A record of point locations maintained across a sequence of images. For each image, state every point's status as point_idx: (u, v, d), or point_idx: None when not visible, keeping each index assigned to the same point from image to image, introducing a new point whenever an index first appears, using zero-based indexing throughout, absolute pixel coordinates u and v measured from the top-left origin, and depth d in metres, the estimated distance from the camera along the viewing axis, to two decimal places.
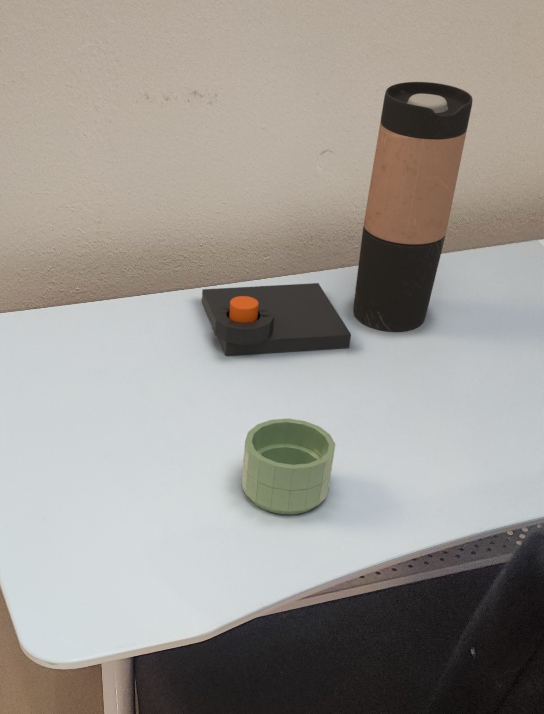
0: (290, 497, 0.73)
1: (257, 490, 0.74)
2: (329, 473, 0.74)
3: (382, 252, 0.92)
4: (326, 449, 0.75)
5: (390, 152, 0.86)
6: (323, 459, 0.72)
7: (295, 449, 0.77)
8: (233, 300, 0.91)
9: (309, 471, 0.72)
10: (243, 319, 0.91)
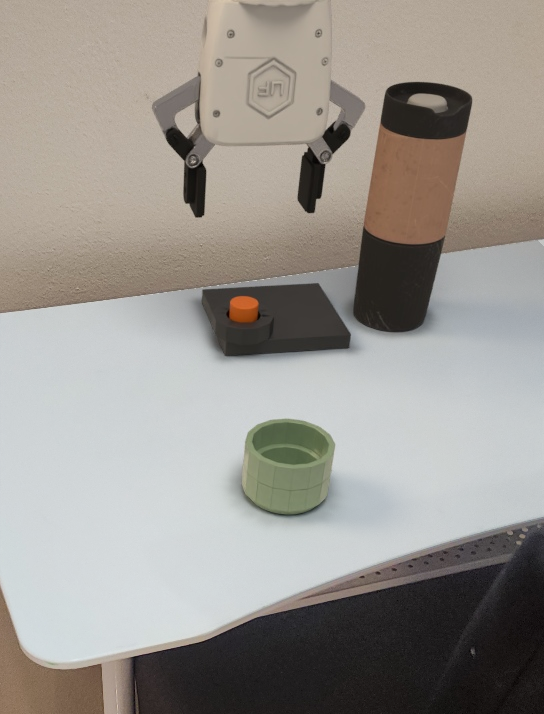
0: (290, 497, 0.73)
1: (257, 490, 0.74)
2: (329, 473, 0.74)
3: (382, 252, 0.92)
4: (326, 449, 0.75)
5: (390, 152, 0.86)
6: (323, 459, 0.72)
7: (295, 449, 0.77)
8: (233, 300, 0.91)
9: (309, 471, 0.72)
10: (243, 319, 0.91)
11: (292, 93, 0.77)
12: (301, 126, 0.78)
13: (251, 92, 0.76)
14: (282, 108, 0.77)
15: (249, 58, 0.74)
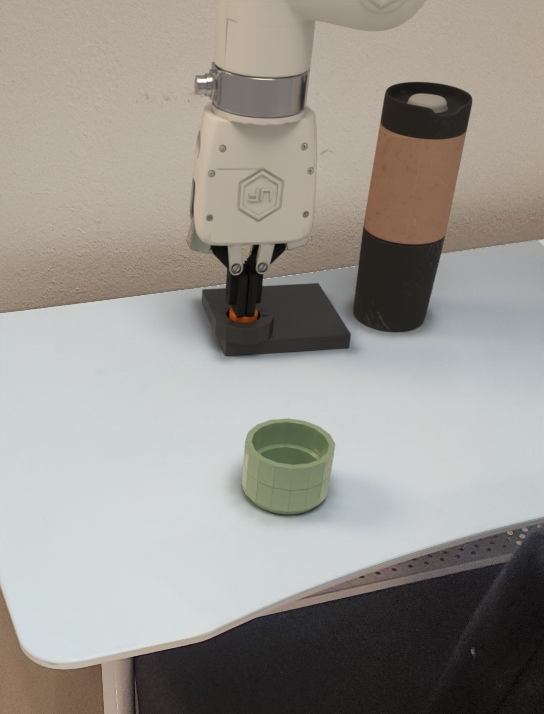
0: (290, 497, 0.73)
1: (257, 490, 0.74)
2: (329, 473, 0.74)
3: (382, 252, 0.92)
4: (326, 449, 0.75)
5: (390, 152, 0.86)
6: (323, 459, 0.72)
7: (295, 449, 0.77)
8: None
9: (309, 471, 0.72)
10: None
11: (280, 199, 0.82)
12: (289, 227, 0.84)
13: (242, 199, 0.82)
14: (271, 212, 0.83)
15: (240, 169, 0.80)
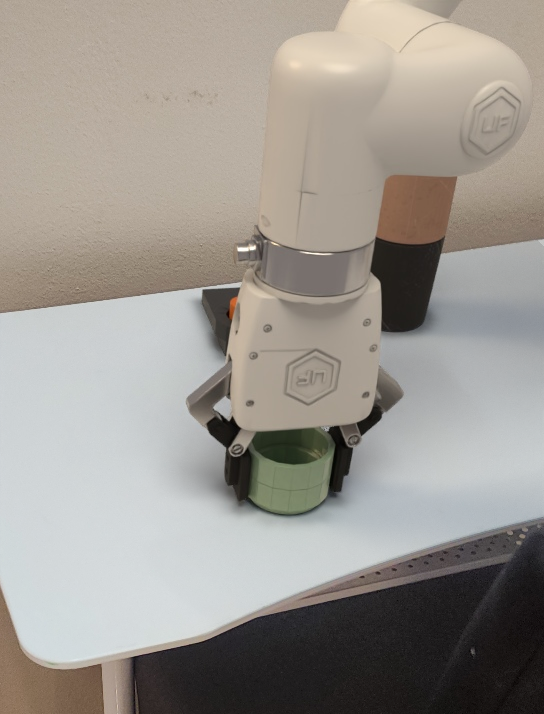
0: (290, 497, 0.73)
1: (257, 490, 0.74)
2: (329, 473, 0.74)
3: (382, 252, 0.92)
4: (326, 449, 0.75)
5: None
6: (323, 459, 0.72)
7: (295, 449, 0.77)
8: (233, 300, 0.91)
9: (309, 471, 0.72)
10: None
11: (335, 380, 0.68)
12: (345, 410, 0.69)
13: (289, 382, 0.67)
14: (324, 395, 0.68)
15: (288, 351, 0.65)
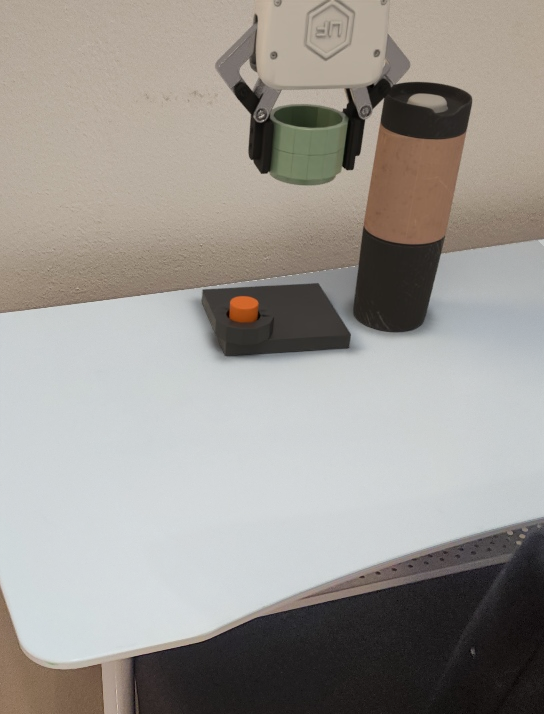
0: (308, 163, 0.81)
1: (278, 161, 0.82)
2: (343, 144, 0.82)
3: (382, 252, 0.92)
4: None
5: (390, 152, 0.86)
6: (338, 125, 0.81)
7: None
8: (233, 300, 0.91)
9: (325, 134, 0.80)
10: (243, 319, 0.91)
11: (350, 34, 0.76)
12: (358, 68, 0.78)
13: (309, 33, 0.75)
14: (340, 49, 0.76)
15: None
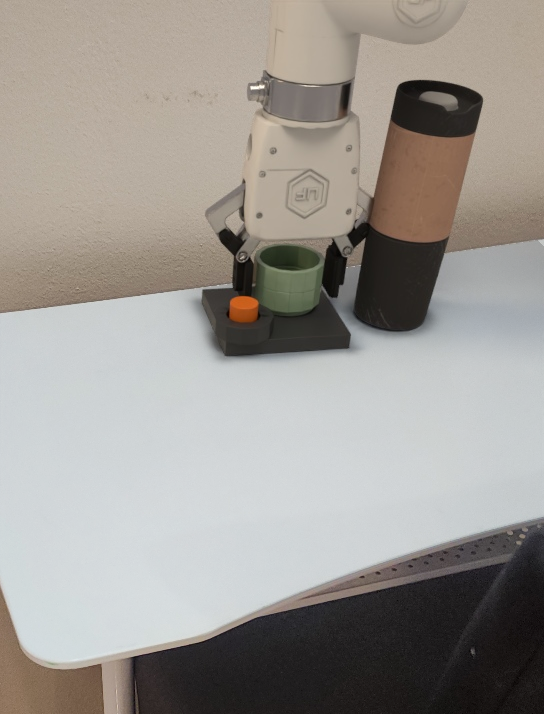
0: (289, 299, 0.93)
1: (263, 296, 0.94)
2: (320, 282, 0.94)
3: (387, 249, 0.91)
4: (318, 264, 0.95)
5: (399, 148, 0.86)
6: (315, 267, 0.93)
7: (293, 269, 0.97)
8: (233, 300, 0.91)
9: (304, 276, 0.92)
10: (243, 319, 0.91)
11: (325, 197, 0.88)
12: (332, 224, 0.90)
13: (290, 197, 0.87)
14: (316, 210, 0.88)
15: (288, 170, 0.86)
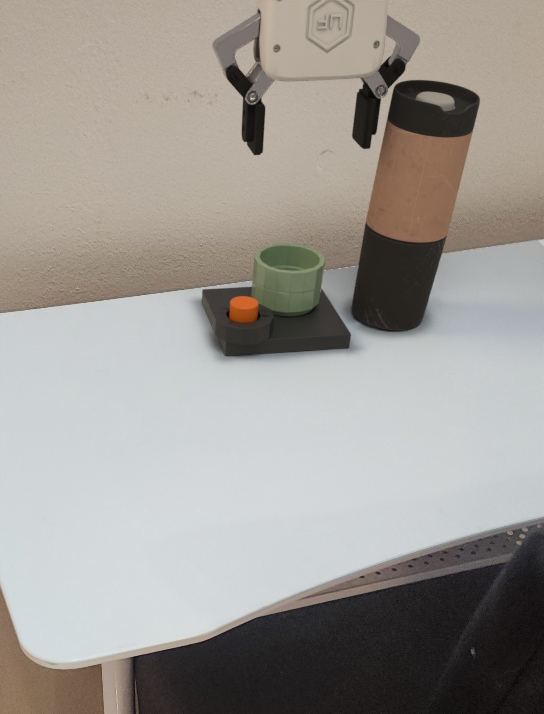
0: (289, 299, 0.93)
1: (263, 296, 0.94)
2: (320, 282, 0.94)
3: (384, 249, 0.91)
4: (318, 264, 0.95)
5: (396, 148, 0.86)
6: (315, 267, 0.93)
7: (293, 269, 0.97)
8: (233, 300, 0.91)
9: (304, 276, 0.92)
10: (243, 319, 0.91)
11: (350, 26, 0.79)
12: (358, 59, 0.80)
13: (310, 26, 0.78)
14: (340, 41, 0.79)
15: None
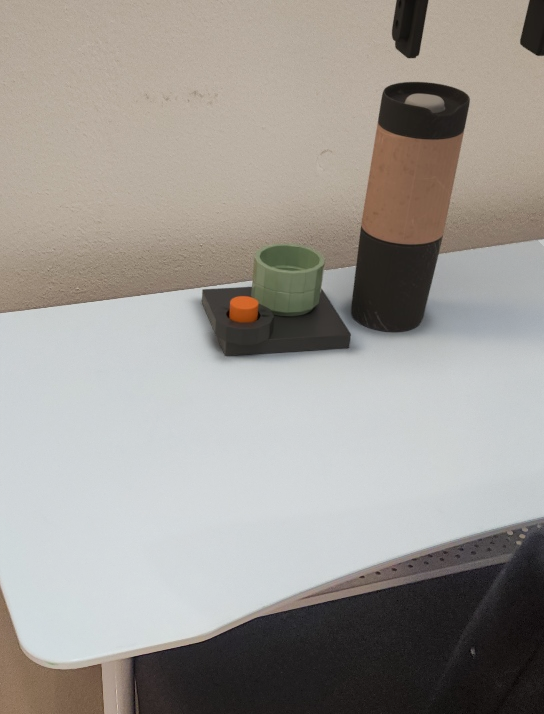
0: (289, 299, 0.93)
1: (263, 296, 0.94)
2: (320, 282, 0.94)
3: (380, 253, 0.92)
4: (318, 264, 0.95)
5: (387, 152, 0.86)
6: (315, 267, 0.93)
7: (293, 269, 0.97)
8: (233, 300, 0.91)
9: (304, 276, 0.92)
10: (243, 319, 0.91)
11: None
12: None
13: None
14: None
15: None
